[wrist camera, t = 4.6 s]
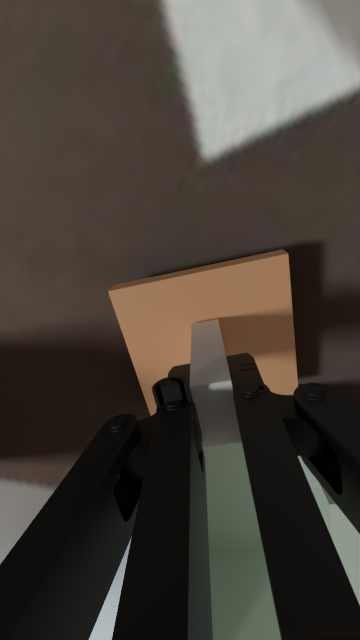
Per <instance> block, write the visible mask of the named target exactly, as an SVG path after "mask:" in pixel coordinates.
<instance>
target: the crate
mask: <svg viewBox="0 0 360 640" xmlns="http://www.w3.org/2000/svg"><path fill="white" fill-rule="evenodd" d="M293 395H294V394H293ZM202 447H203V451H204V456H205V469H206V492H207V515H208V538H209V561H210V584H211V607H212V630H213V640H281V637H280V632H279V627H278V622H277V617H276V612H275V607H274V602H273V597H272V592H271V587H270V582H269V577H268V572H267V567H266V562H265V557H264V552H263V547H262V542H261V537H260V532H259V526H258V521H257V516H256V511H255V506H254V501H253V496H252V491H251V486H250V481H249V476H248V471H247V467H246V461H245V456H244V451H243V446H242V442H238V443H231V444H224V445H217V446H210V447H204V445H203V441H202ZM298 458H299V461H300V463H301V466H302V468H303V470H304V473H305V475H306V478H307V480H308V482H309V485H310V487H311V490H312V492H313V494H314V497H315V499H316V502H317V504H318V506H319V509H320V511H321V514H322V516H323V518H324V521H325V523H326V526H327V528H328V531H329V533H330V535H331V538H332V540H333V543H334V545H335V547H336V550H337V552H338V555H339V557H340V559H341V562H342V564H343V567H344V569H345V571H346V574H347V576H348V579H349V581H350V583H351V586H352V588H353V591H354V593H355V595H356V598H357V600H358V603H359V605H360V534H359V533H358V531H357V530H356V529H355V528H354V526H353V525H352V524H351V522H350V521H349V520H348V519H347V517H346V516H345V515H344V514H343V512H342V511H341V510H340V508H339V507H338V506H337V505H336V503H335V502H334V501H333V500H332V498H331V497H330V496H329V494H328V493H327V492H326V491H325V489H324V488H323V487H322V486H321V484H320V483H319V482H318V480H317V479H316V478H315V477H314V475H313V474H312V473H311V472H310V470H309V469H308V468H307V466H306V465H305V464H304V463H303V461H302V459H301V456H298Z"/></svg>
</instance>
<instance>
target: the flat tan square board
mask: <svg viewBox="0 0 360 640" xmlns="http://www.w3.org/2000/svg"><path fill="white" fill-rule="evenodd" d="M108 292H109V295H110V298H111V301H112V304H113V307H114V310H115V313H116V316H117V318H118V321H119V324H120V327H121V330H122V333H123V336H124V339H125V342H126V345H127V348H128V351H129V354H130V357H131V359H132V362H133V365H134V368H135V371H136V374H137V377H138V380H139V383H140V386H141V389H142V392H143V395H144V398H145V400H146V403H147V406H148V409H149V412H150V415H151V416H152V415H153V414H155V413H156V409H157V406H156V403H155V399H154V396H153V392H152V389H151V388H152V387H153V385H154V384H155V383H156V382H157V381H159V380H161V379H163V378H166V377H168V372H169V371H170V370H171V369H172V367H173V366H178V365H184V364H189V363H190V359H191V328H192V324H194V323H199V322H204V321H209V320H215V319H218V321H219V326H220V331H221V335H222V340H223V345H224V349H225V354H226V356H230V355H236V354H242V353H248V354H250V355H251V356H253V357H254V360H255V362H256V365H257V367H258V370H259V372H260V375H261V377H262V380H263V382H264V384H265V385H267V386H268V388H269V389H270V391H271V392H273V393H276V394H281V395H293V394H294V390H295V389H296V388H297V387H298V377H297V363H296V350H295V337H294V323H293V310H292V296H291V283H290V270H289V256H288V253H287V252H286V251H284V250H283V249H282V250H277V251H273V252H268V253H263V254H258V255H254V256H249V257H244V258H239V259H235V260H230V261H225V262H220V263H216V264H211V265H206V266H202V267H197V268H192V269H187V270H183V271H178V272H173V273H168V274H164V275H159V276H154V277H150V278H145V279H140V280H135V281H131V282H126V283H121V284H116V285H112V287H111V288H110V289H109V291H108Z"/></svg>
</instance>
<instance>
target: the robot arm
mask: <svg viewBox="0 0 360 640" xmlns="http://www.w3.org/2000/svg"><path fill="white" fill-rule="evenodd" d="M151 389H152V392H153V396H154V399H155V403H156V406H157V409H156V413H155V414H153V415H152V416H150V417H147V418H145V419H142V420H140V421H137V419H136V417H135V416H134V415H132V414H121V415H118V416H115V417H113V418H111V419H110V420H108V421H107V422H106V423H105V424H104V425H103V426H102V428H101V429H100V430H99V432H98V433H97V435H96V436H95V437H94V439H93V440H92V441H91V443H90V444H89V445H88V447H87V448H86V449H85V451H84V452H83V453H82V455H81V456H80V458H79V459H78V460H77V462H76V463H75V464H74V466H73V467H72V468H71V470H70V471H69V472H68V474H67V475H66V476H65V478H64V479H63V481H62V482H61V483H60V485H59V486H58V487H57V489H56V490H55V491H54V493H53V494H52V496H51V497H50V498H49V499H48V501H47V502H46V504H45V505H44V506H43V508H42V509H41V510H40V512H39V513H38V514H37V516H36V517H35V518H34V520H33V521H32V522H31V524H30V525H29V527H28V528H27V529H26V531H25V532H24V533H23V535H22V536H21V537H20V539H19V540H18V541H17V543H16V544H15V546H14V547H13V548H12V550H11V551H10V552H9V554H8V555H7V556H6V558H5V559H4V561H3V562H2V563H1V564H0V640H88V639H89V637H90V635H91V632H92V630H93V628H94V625H95V623H96V620H97V618H98V615H99V613H100V611H101V608H102V606H103V604H104V601H105V599H106V596H107V594H108V591H109V589H110V587H111V584H112V582H113V580H114V577H115V575H116V572H117V570H118V568H119V565H120V563H121V560H122V558H123V556H124V553H125V551H126V548H127V546H128V543H129V541H130V539H131V536H132V539H131V544H130V549H129V554H128V559H127V564H126V569H125V575H124V580H123V585H122V590H121V595H120V601H119V606H118V612H117V616H116V621H115V626H114V632H113V637H112V640H213V630H212V607H211V584H210V561H209V538H208V515H207V492H206V469H205V456H204V451H203V447H202V441H203V445H204V447H210V446H217V445H224V444H231V443H238V442H242V446H243V451H244V456H245V461H246V467H247V471H248V476H249V481H250V486H251V491H252V496H253V501H254V506H255V511H256V516H257V521H258V526H259V532H260V537H261V542H262V547H263V552H264V557H265V562H266V567H267V572H268V577H269V582H270V587H271V592H272V597H273V602H274V607H275V612H276V617H277V622H278V627H279V632H280V637H281V640H360V605H359V603H358V600H357V598H356V595H355V593H354V591H353V588H352V586H351V583H350V581H349V579H348V576H347V574H346V571H345V569H344V567H343V564H342V562H341V559H340V557H339V555H338V552H337V550H336V547H335V545H334V543H333V540H332V538H331V535H330V533H329V531H328V528H327V526H326V523H325V521H324V518H323V516H322V514H321V511H320V509H319V506H318V504H317V502H316V499H315V497H314V494H313V492H312V490H311V487H310V485H309V482H308V480H307V478H306V475H305V473H304V470H303V468H302V466H301V463H300V461H299V458H298V456H301V459H302V461H303V463H304V464H305V465H306V466H307V468H308V469H309V470H310V472H311V473H312V474H313V475H314V477H315V478H316V479H317V480H318V482H319V483H320V484H321V486H322V487H323V488H324V489H325V491H326V492H327V493H328V494H329V496H330V497H331V498H332V500H333V501H334V502H335V503H336V505H337V506H338V507H339V508H340V510H341V511H342V512H343V514H344V515H345V516H346V517H347V519H348V520H349V521H350V522H351V524H352V525H353V526H354V528H355V529H356V530H357V531H358V533H359V534H360V408H358V407H357V406H356V405H354V404H353V403H352V402H350V401H349V400H348V399H346V398H345V397H344V396H342V395H341V394H340V393H338V392H337V391H336V390H334V389H333V388H331V387H329V386H327V385H324V384H320V383H308V384H303V385H301V386H299V387H297V388H296V389H295V390H294V395H281V394H276V393H273V392H271V391H270V389H269V388H268V386H267V385H265V384H264V382H263V380H262V377H261V375H260V372H259V370H258V367H257V365H256V362H255V360H254V357H253V356H251V355H250V354H248V353H242V354H236V355H230V356H226V354H225V349H224V345H223V340H222V335H221V331H220V326H219V321H218V319H215V320H209V321H204V322H199V323H194V324H192V328H191V359H190V363H189V364H184V365H178V366H173V367H172V369H171V370H170V371H169V372H168V377H166V378H163V379H161V380H159V381H157V382H156V383H155V384H154V385H153V387H152V388H151Z"/></svg>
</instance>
